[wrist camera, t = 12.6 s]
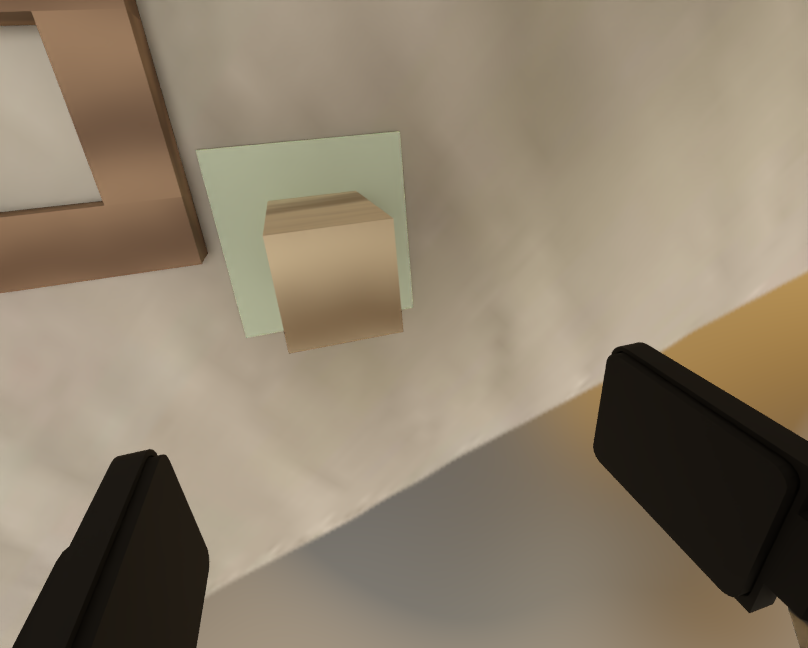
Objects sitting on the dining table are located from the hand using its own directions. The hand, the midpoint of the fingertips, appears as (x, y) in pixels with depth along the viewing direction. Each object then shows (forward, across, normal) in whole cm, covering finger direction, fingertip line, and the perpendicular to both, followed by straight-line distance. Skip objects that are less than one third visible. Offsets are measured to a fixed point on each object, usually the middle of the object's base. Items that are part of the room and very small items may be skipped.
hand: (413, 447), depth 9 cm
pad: (+22, 0, +1) cm, 22 cm away
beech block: (+21, 0, +1) cm, 21 cm away
